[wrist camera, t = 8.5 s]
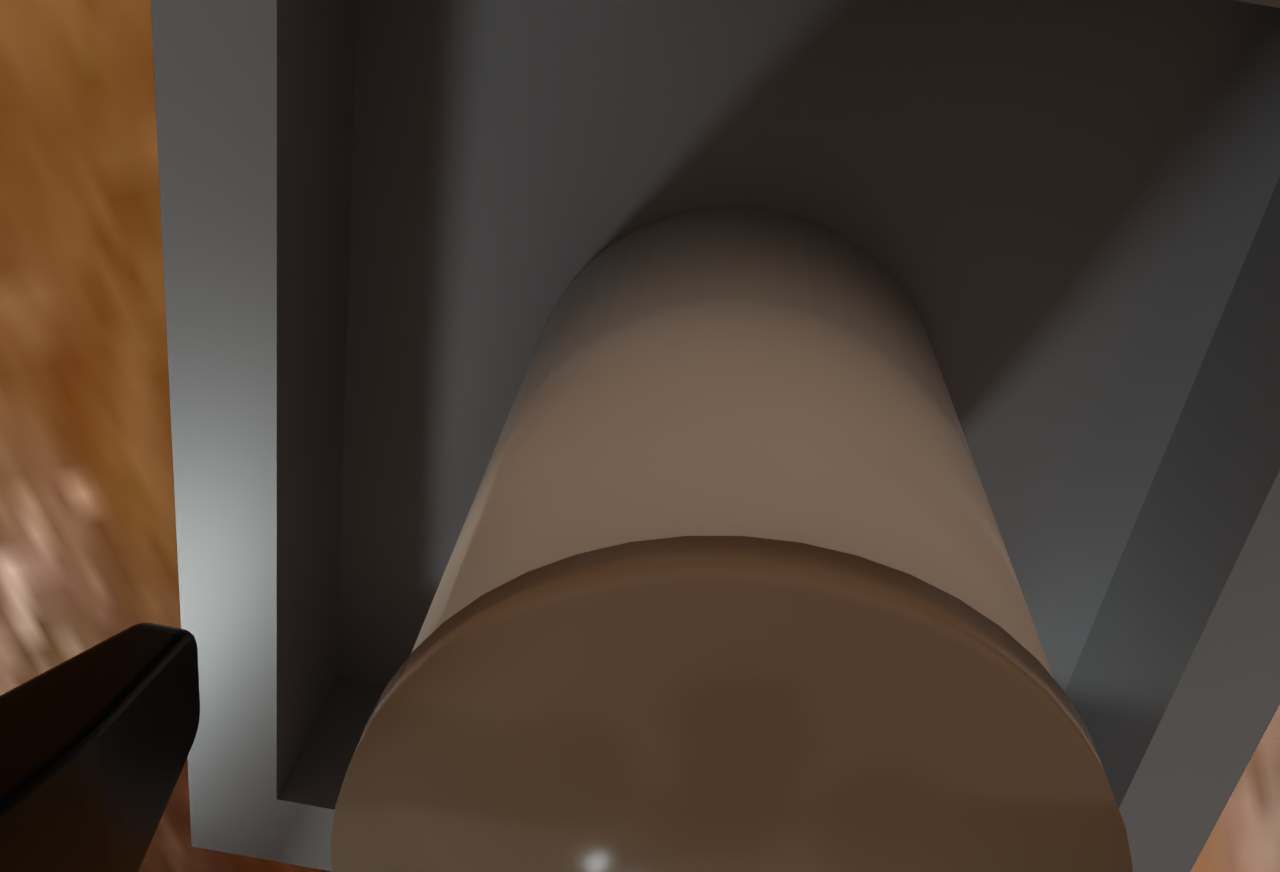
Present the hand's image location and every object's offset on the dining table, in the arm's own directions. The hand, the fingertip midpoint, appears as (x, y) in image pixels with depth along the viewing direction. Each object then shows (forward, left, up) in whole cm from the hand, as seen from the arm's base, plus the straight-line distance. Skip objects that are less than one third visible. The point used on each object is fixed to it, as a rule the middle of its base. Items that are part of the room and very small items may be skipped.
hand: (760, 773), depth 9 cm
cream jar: (0, 0, -7) cm, 7 cm away
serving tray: (0, 0, -8) cm, 8 cm away
